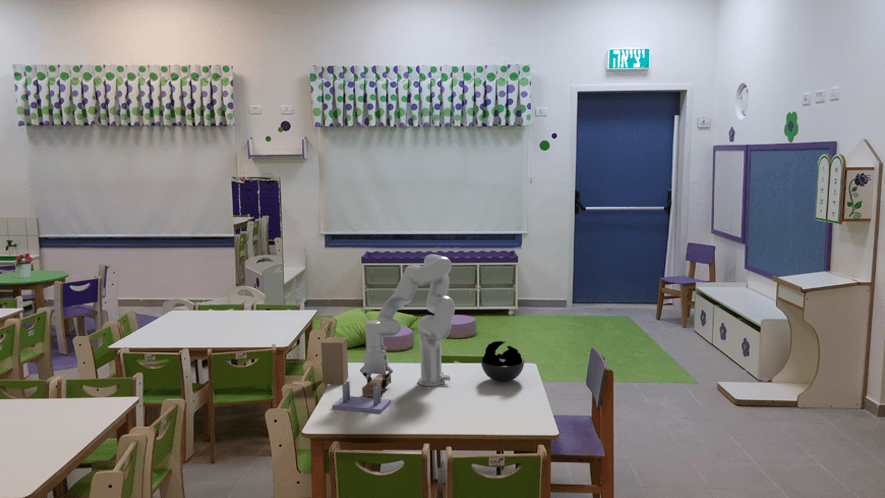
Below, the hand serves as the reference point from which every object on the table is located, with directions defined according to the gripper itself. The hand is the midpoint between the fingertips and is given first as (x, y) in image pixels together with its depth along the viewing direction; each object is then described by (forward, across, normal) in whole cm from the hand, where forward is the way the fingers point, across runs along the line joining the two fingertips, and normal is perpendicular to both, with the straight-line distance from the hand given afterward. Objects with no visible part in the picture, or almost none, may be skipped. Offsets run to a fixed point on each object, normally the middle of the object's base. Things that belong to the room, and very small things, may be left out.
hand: (377, 386), depth 310 cm
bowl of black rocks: (+5, -51, -28) cm, 59 cm away
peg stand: (+2, +1, +17) cm, 17 cm away
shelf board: (+1, 0, 0) cm, 1 cm away
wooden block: (+3, +26, -11) cm, 28 cm away
